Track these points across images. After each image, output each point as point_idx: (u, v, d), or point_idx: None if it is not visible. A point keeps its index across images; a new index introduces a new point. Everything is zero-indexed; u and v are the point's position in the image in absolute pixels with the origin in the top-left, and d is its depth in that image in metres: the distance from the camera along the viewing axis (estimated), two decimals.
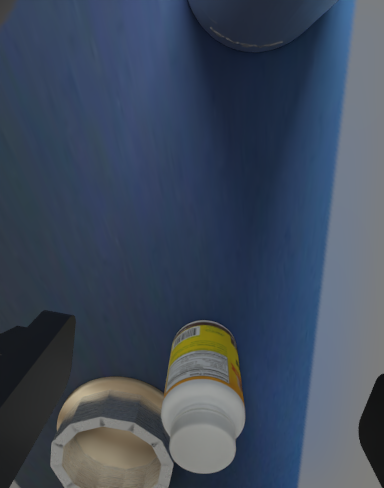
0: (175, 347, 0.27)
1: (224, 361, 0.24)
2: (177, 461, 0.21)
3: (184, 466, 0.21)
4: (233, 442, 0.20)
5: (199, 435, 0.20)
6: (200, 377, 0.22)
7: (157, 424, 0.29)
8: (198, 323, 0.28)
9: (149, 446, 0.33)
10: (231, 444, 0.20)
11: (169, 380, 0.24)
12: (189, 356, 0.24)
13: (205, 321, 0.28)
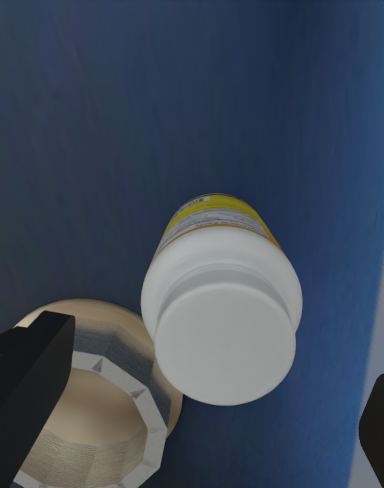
0: (169, 224, 0.16)
1: (256, 222, 0.14)
2: (171, 377, 0.10)
3: (186, 389, 0.10)
4: (292, 328, 0.09)
5: (218, 311, 0.09)
6: (216, 225, 0.11)
7: (141, 365, 0.19)
8: (206, 195, 0.17)
9: (131, 409, 0.22)
10: (288, 332, 0.09)
11: (157, 250, 0.13)
12: (194, 215, 0.14)
13: (217, 193, 0.18)
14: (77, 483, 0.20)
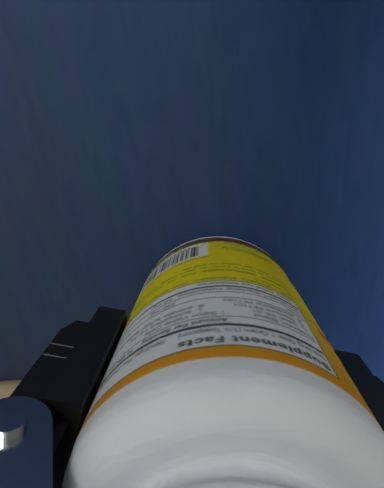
0: (143, 292, 0.10)
1: (293, 310, 0.07)
2: None
3: None
4: None
5: None
6: (223, 349, 0.05)
7: None
8: (203, 240, 0.11)
9: None
10: None
11: (107, 373, 0.07)
12: (179, 296, 0.07)
13: (220, 237, 0.12)
14: None
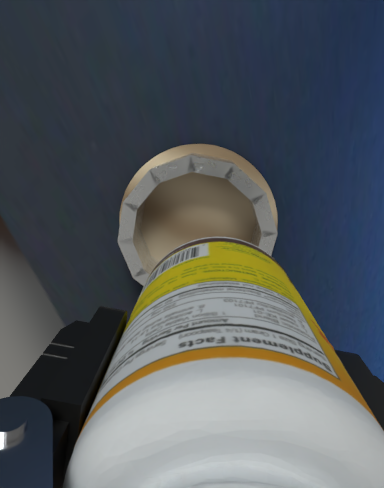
0: (143, 292, 0.10)
1: (294, 311, 0.07)
2: None
3: None
4: None
5: None
6: (224, 350, 0.05)
7: None
8: (203, 240, 0.11)
9: None
10: None
11: (108, 373, 0.07)
12: (180, 297, 0.07)
13: (220, 237, 0.12)
14: None
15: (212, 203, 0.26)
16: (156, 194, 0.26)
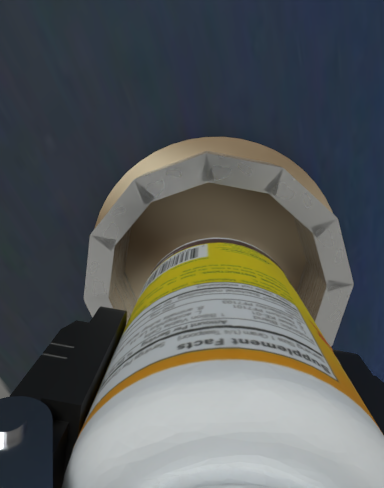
0: (142, 293, 0.10)
1: (293, 312, 0.07)
2: None
3: None
4: None
5: None
6: (223, 352, 0.05)
7: None
8: (203, 241, 0.11)
9: None
10: None
11: (106, 375, 0.07)
12: (179, 299, 0.07)
13: (220, 238, 0.12)
14: None
15: (238, 231, 0.16)
16: (148, 217, 0.16)
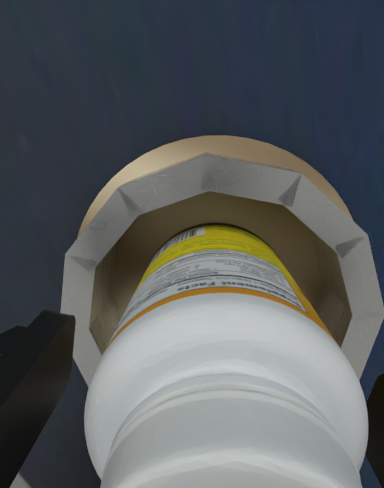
0: (148, 269, 0.11)
1: (276, 272, 0.09)
2: None
3: None
4: None
5: None
6: (214, 289, 0.07)
7: None
8: (201, 225, 0.13)
9: None
10: None
11: (119, 323, 0.08)
12: (179, 262, 0.09)
13: (216, 222, 0.13)
14: None
15: None
16: (139, 230, 0.14)
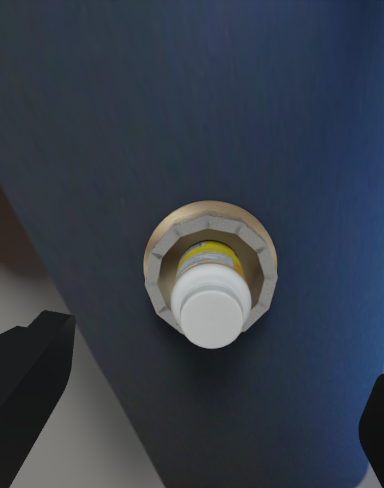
0: (182, 259, 0.28)
1: (229, 259, 0.25)
2: (187, 335, 0.21)
3: (194, 340, 0.21)
4: (241, 310, 0.21)
5: (208, 303, 0.21)
6: (208, 262, 0.23)
7: (259, 236, 0.28)
8: (203, 240, 0.29)
9: None
10: (239, 311, 0.21)
11: (177, 275, 0.25)
12: (196, 256, 0.25)
13: (210, 239, 0.30)
14: None
15: None
16: (175, 242, 0.30)
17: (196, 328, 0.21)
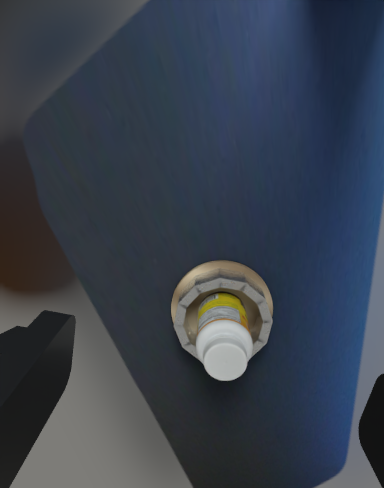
0: (201, 308, 0.38)
1: (236, 312, 0.35)
2: (209, 372, 0.31)
3: (213, 375, 0.31)
4: (245, 355, 0.31)
5: (223, 351, 0.30)
6: (221, 318, 0.33)
7: (259, 290, 0.38)
8: (216, 292, 0.39)
9: None
10: (244, 356, 0.31)
11: (199, 325, 0.34)
12: (212, 310, 0.35)
13: (221, 291, 0.39)
14: None
15: None
16: None
17: (215, 367, 0.31)
